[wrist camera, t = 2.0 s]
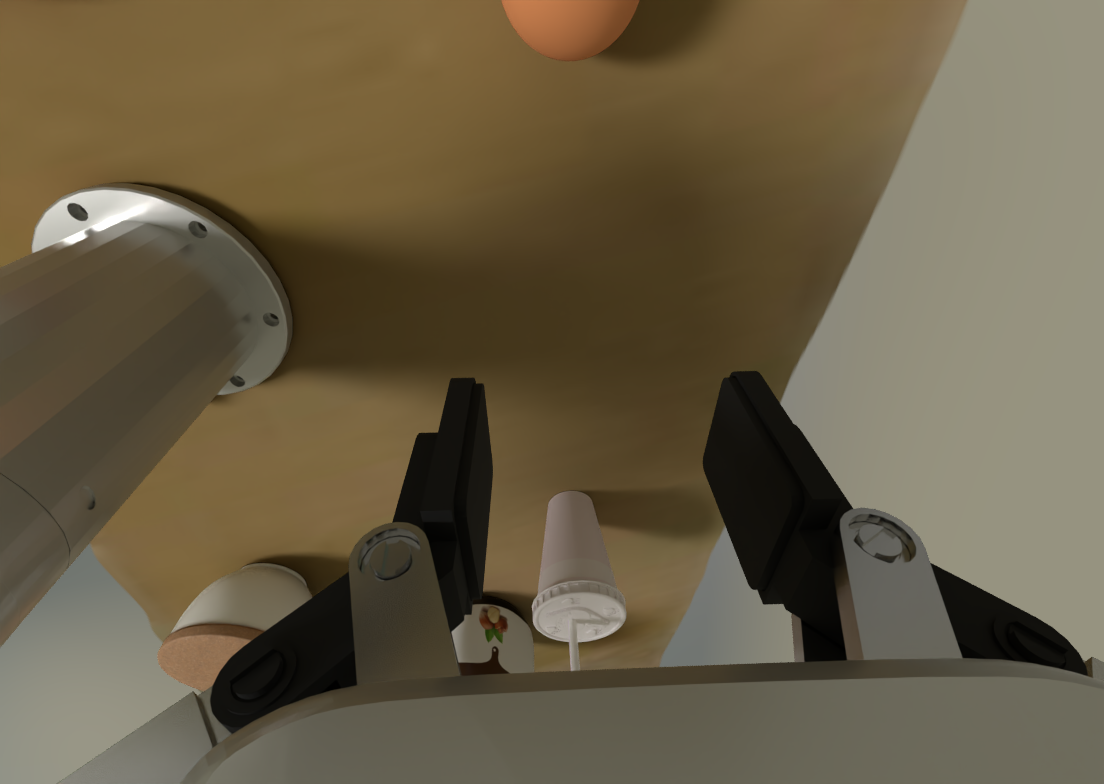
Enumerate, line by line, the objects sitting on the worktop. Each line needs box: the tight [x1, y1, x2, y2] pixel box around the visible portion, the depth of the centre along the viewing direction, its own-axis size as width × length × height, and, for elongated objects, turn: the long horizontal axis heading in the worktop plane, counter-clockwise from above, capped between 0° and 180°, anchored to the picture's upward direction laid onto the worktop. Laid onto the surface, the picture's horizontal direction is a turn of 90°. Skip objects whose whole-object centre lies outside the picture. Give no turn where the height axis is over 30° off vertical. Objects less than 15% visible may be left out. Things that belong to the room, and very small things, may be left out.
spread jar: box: [452, 596, 534, 676], centre depth 46 cm, size 12×11×12 cm
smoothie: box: [532, 491, 626, 671], centre depth 35 cm, size 6×6×14 cm
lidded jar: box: [158, 563, 313, 691], centre depth 42 cm, size 11×11×9 cm
